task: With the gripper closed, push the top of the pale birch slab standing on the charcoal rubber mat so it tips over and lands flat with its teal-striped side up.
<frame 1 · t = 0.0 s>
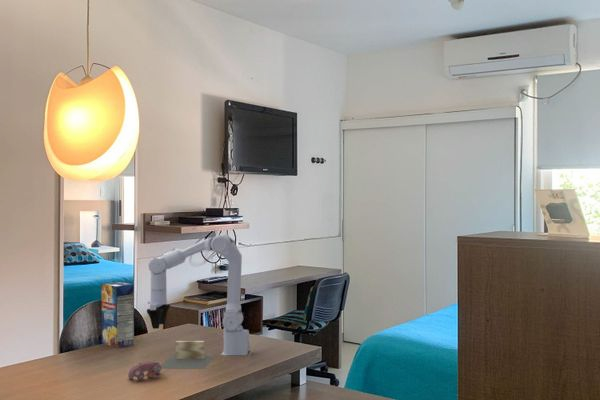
hand: (158, 326, 215), 10 cm above the table, tool pointing down, fingers open, 7 cm apart
slab: (190, 358, 205), point 1 cm above the table, touching mat
juice carton: (117, 344, 230), on the table
mat: (187, 363, 201), on the table
purple toy animal: (145, 379, 183), on the table
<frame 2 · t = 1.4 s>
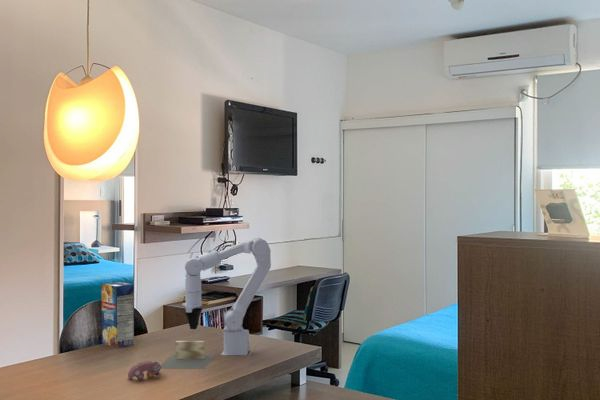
hand: (193, 328, 210), 10 cm above the table, tool pointing down, fingers closed
nothing on the table moved.
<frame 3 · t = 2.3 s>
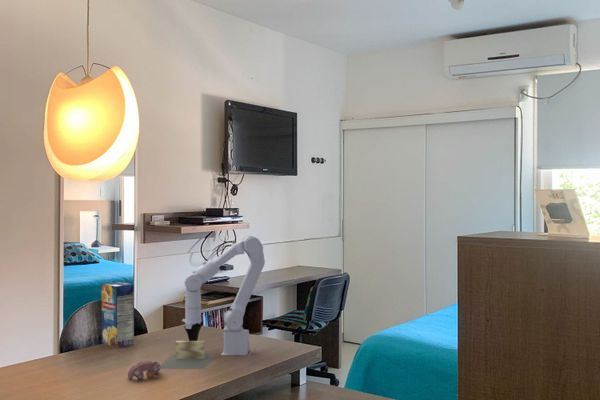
hand: (193, 344, 210), 4 cm above the table, tool pointing down, fingers closed
nothing on the table moved.
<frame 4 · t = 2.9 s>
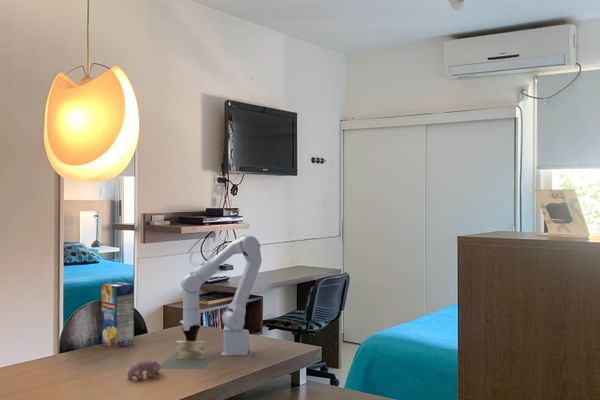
hand: (191, 346, 207), 4 cm above the table, tool pointing down, fingers closed
slab: (190, 358, 205), point 1 cm above the table, touching gripper, mat
everything else where it was.
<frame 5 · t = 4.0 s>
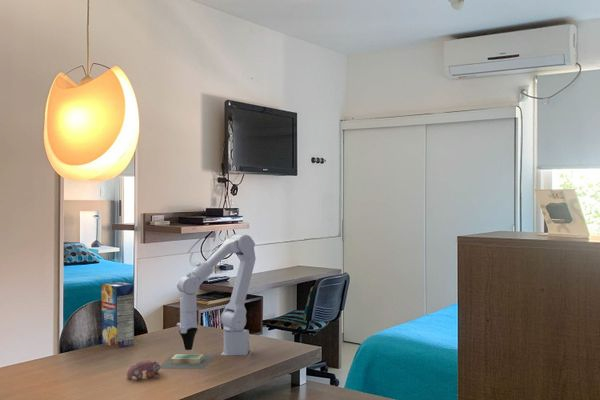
hand: (188, 349, 203), 4 cm above the table, tool pointing down, fingers closed
slab: (189, 356, 204), point 1 cm above the table, tilted 90°, touching mat
everything else where it was.
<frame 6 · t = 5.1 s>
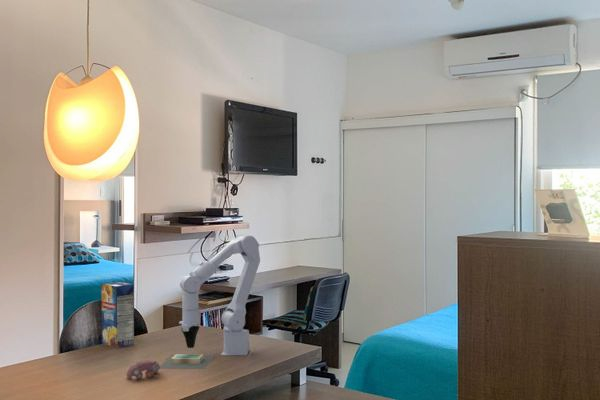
hand: (190, 347, 206), 4 cm above the table, tool pointing down, fingers closed
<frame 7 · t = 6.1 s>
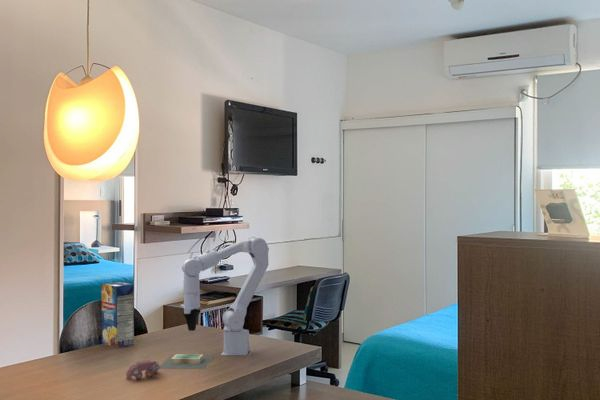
hand: (191, 330, 208), 10 cm above the table, tool pointing down, fingers closed
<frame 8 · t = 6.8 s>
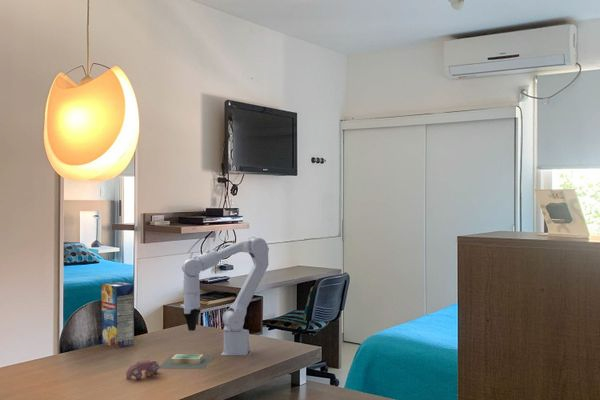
hand: (191, 330, 208), 10 cm above the table, tool pointing down, fingers closed
at the end: slab tilted 90°; slab inside the target area (3.6 cm from its centre), point 1.4 cm above the table; the gripper is holding nothing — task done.
